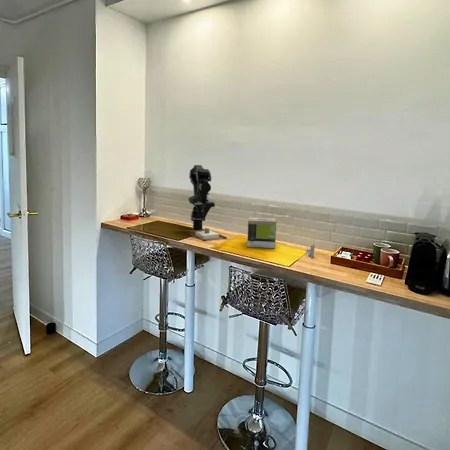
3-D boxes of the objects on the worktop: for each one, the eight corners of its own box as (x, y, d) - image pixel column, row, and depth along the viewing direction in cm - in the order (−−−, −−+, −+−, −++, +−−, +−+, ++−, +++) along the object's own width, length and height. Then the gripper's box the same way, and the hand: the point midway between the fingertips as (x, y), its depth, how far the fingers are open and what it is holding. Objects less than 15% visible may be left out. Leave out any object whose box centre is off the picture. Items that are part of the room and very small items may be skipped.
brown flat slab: (190, 236, 204) (190, 233, 204) (211, 233, 213) (211, 231, 213) (204, 242, 192) (204, 239, 191) (226, 239, 200) (226, 236, 200)
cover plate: (195, 235, 205) (195, 227, 204) (209, 233, 210) (209, 226, 209) (204, 239, 197) (204, 231, 196) (218, 237, 202) (219, 229, 201)
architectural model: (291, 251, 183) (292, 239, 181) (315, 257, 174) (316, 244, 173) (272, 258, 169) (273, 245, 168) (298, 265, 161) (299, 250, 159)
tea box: (274, 244, 195) (276, 218, 192) (274, 249, 185) (276, 221, 182) (247, 242, 196) (248, 216, 193) (246, 247, 186) (248, 220, 183)
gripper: (182, 189, 206) (182, 215, 209) (198, 193, 191) (198, 220, 194) (198, 188, 213) (198, 214, 216) (215, 192, 198) (214, 219, 201)
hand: (201, 217), depth 206 cm, fingers open, 5 cm apart
